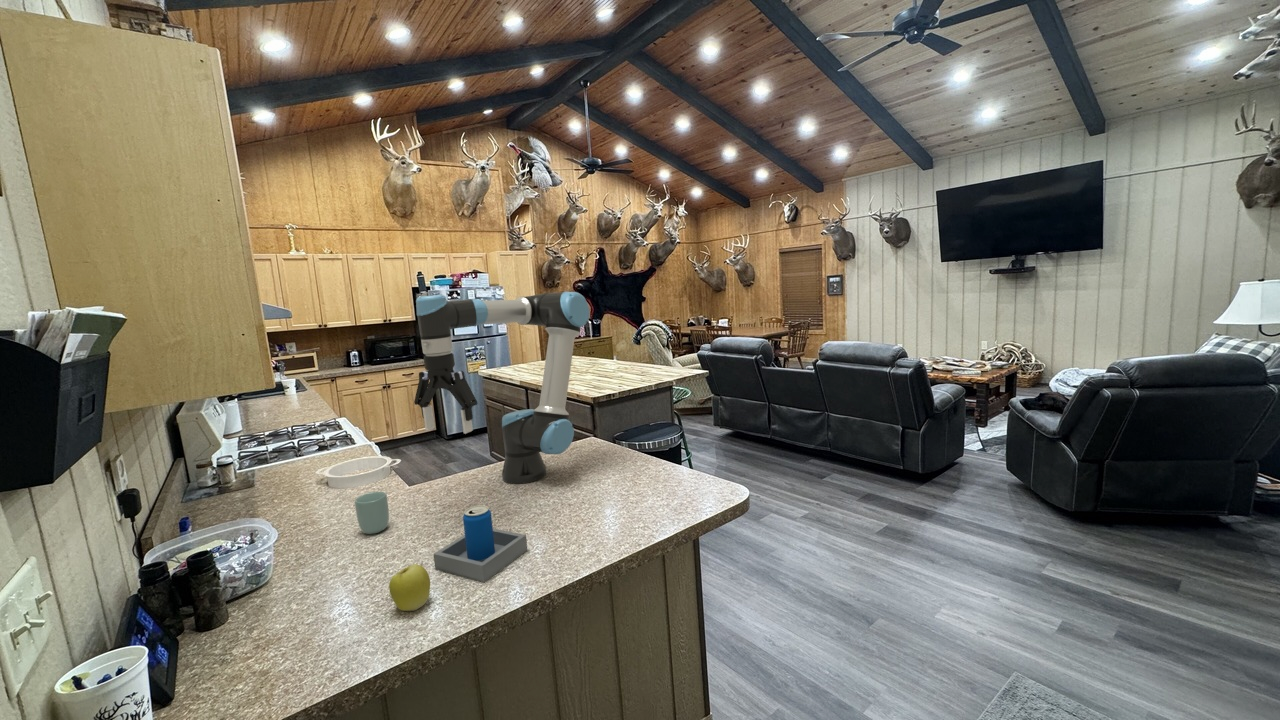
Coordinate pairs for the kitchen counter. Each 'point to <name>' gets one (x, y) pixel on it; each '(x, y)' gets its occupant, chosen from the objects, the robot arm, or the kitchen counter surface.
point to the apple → (410, 588)
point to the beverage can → (478, 533)
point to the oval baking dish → (357, 464)
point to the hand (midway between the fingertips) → (449, 430)
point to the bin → (458, 563)
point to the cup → (372, 512)
